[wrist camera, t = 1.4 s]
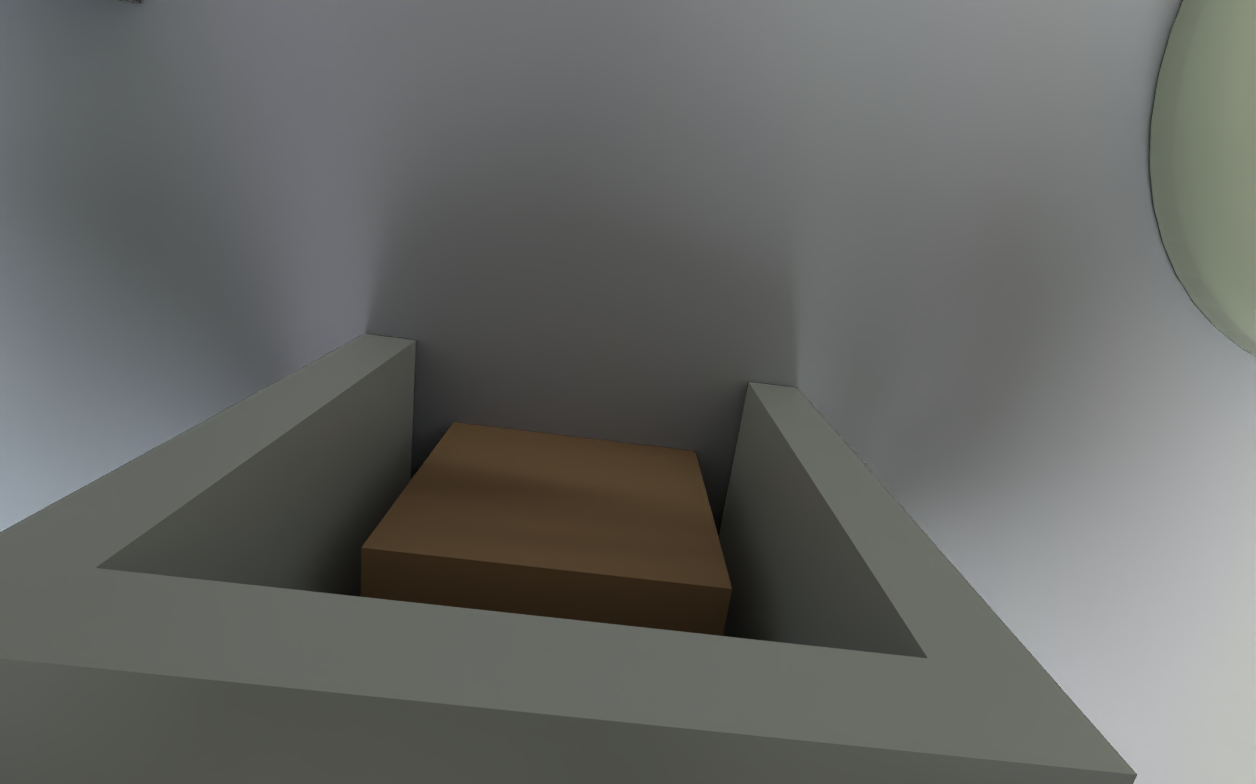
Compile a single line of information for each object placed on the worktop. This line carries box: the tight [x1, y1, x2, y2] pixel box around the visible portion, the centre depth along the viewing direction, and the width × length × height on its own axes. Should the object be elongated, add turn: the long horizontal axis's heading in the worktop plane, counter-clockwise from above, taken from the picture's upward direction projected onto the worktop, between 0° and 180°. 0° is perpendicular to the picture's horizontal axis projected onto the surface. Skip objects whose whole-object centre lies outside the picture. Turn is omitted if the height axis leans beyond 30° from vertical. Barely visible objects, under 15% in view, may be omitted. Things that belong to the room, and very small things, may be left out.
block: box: [361, 422, 732, 636], centre depth 10 cm, size 4×4×4 cm
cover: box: [0, 334, 1137, 784], centre depth 8 cm, size 7×7×7 cm
